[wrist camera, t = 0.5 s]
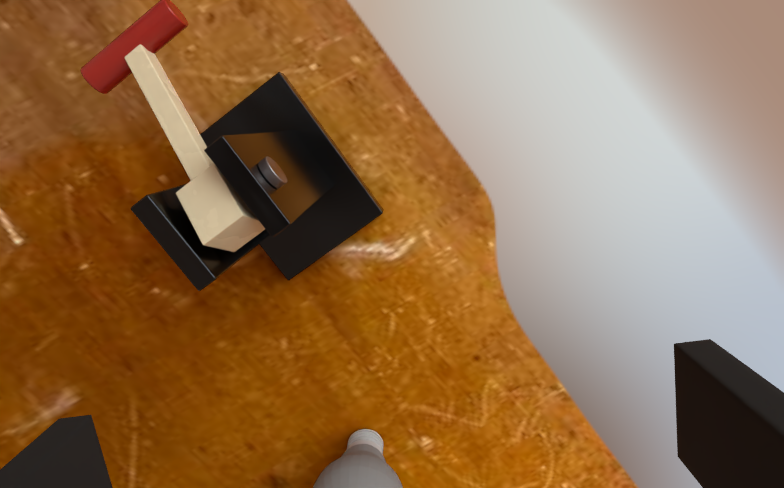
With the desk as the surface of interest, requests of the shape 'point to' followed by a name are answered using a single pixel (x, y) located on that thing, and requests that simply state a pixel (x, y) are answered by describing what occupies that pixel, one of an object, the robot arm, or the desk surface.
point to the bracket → (269, 188)
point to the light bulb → (360, 465)
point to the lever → (175, 126)
